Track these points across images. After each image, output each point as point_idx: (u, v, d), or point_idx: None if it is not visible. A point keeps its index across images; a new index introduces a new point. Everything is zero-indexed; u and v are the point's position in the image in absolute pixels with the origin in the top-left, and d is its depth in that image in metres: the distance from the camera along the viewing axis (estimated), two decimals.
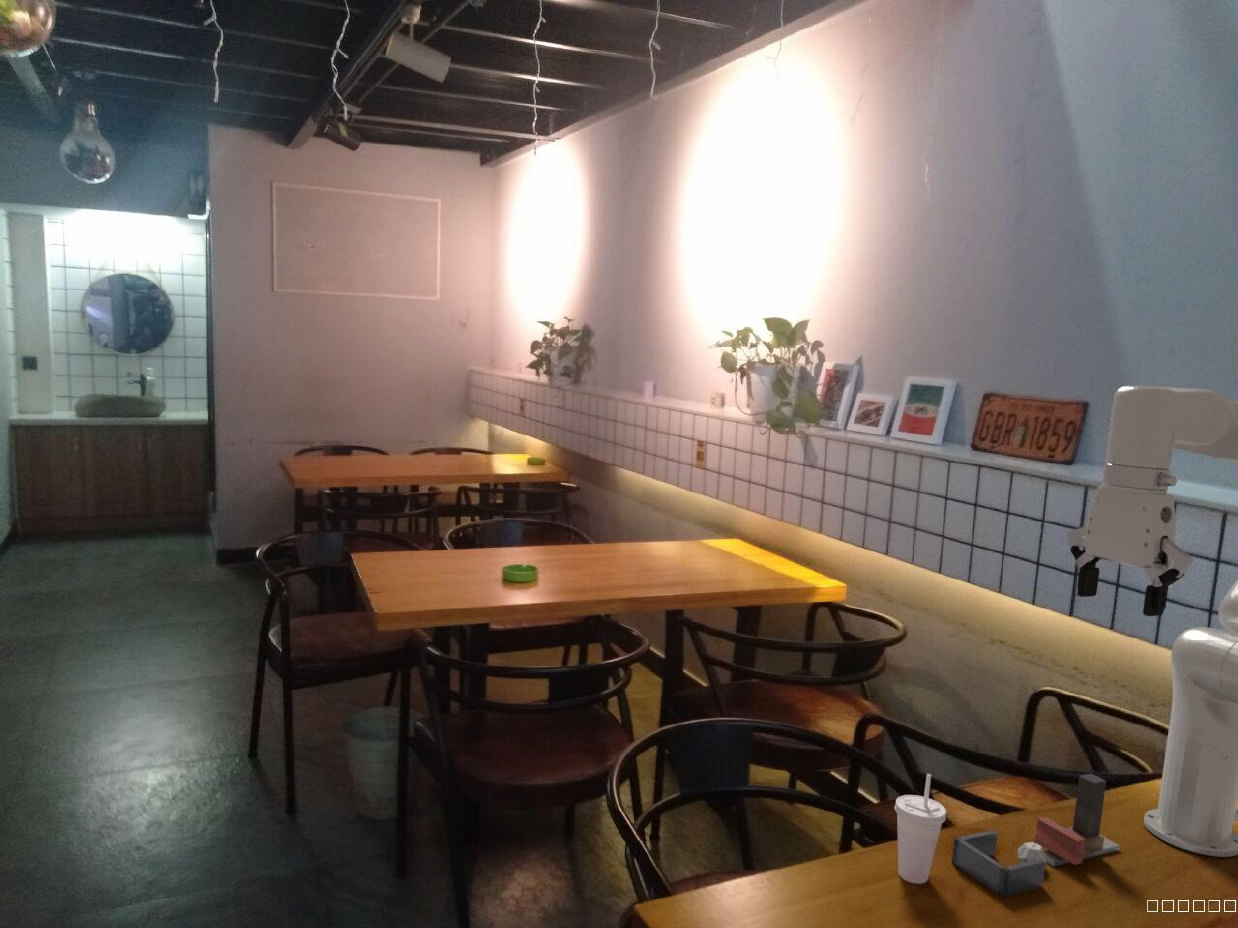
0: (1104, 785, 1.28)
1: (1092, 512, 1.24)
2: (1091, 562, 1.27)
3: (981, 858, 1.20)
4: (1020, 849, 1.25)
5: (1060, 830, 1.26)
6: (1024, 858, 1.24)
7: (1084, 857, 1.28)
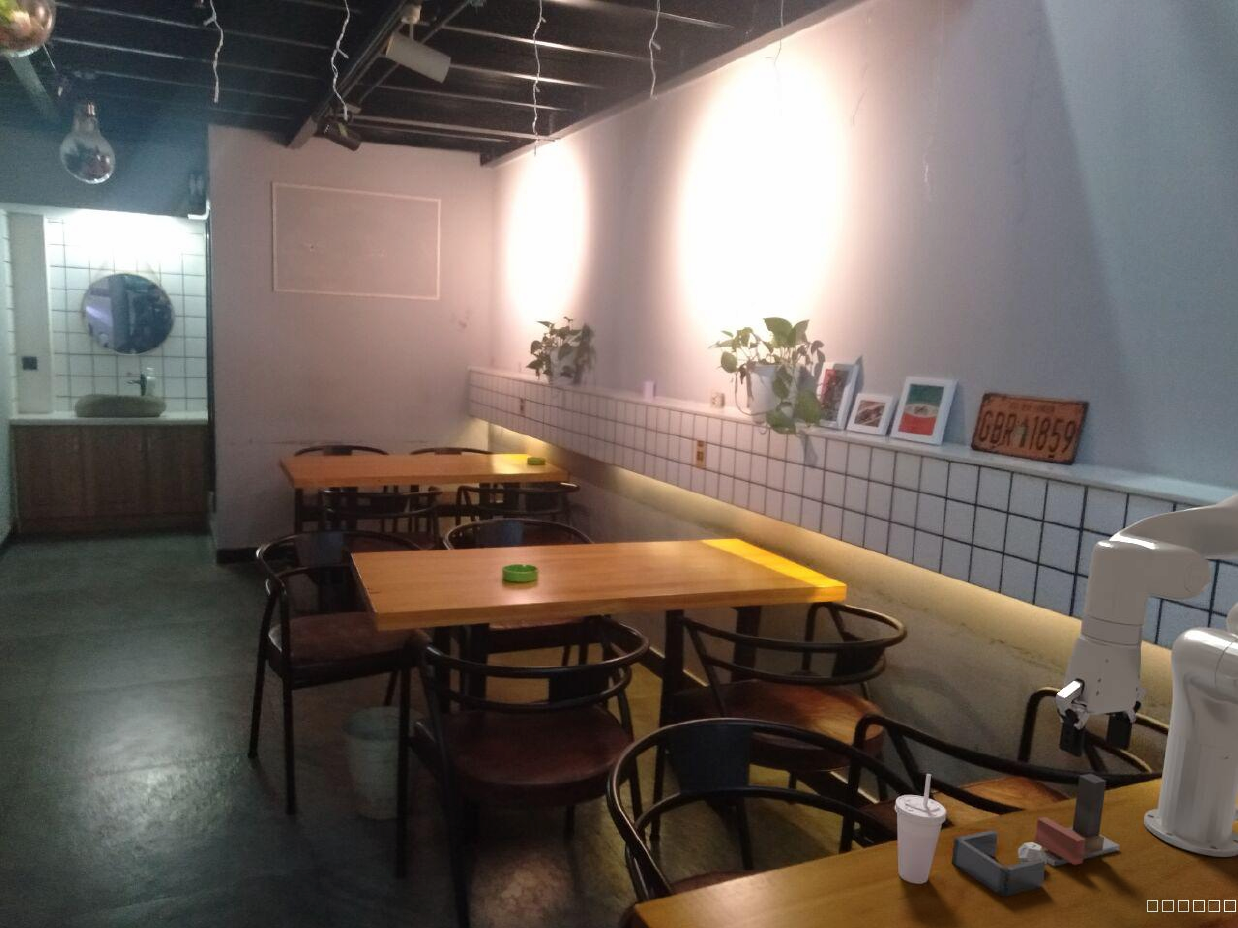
0: (1104, 785, 1.28)
1: (1100, 673, 1.23)
2: None
3: (981, 858, 1.20)
4: (1020, 849, 1.25)
5: (1060, 830, 1.26)
6: (1024, 858, 1.24)
7: (1084, 857, 1.28)
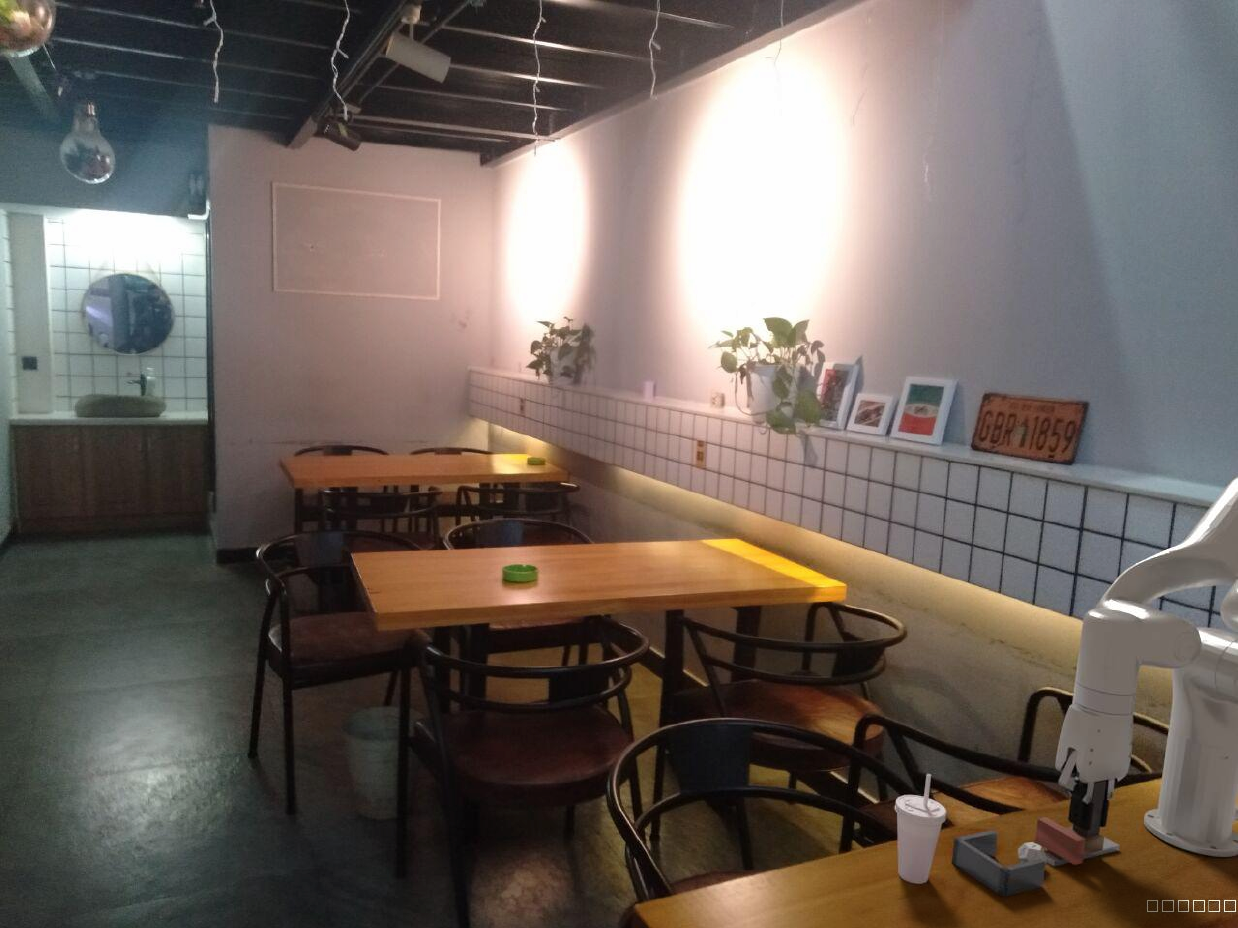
0: (1104, 785, 1.28)
1: (1092, 743, 1.24)
2: None
3: (981, 858, 1.20)
4: (1020, 849, 1.25)
5: (1060, 830, 1.26)
6: (1024, 858, 1.24)
7: (1084, 857, 1.28)
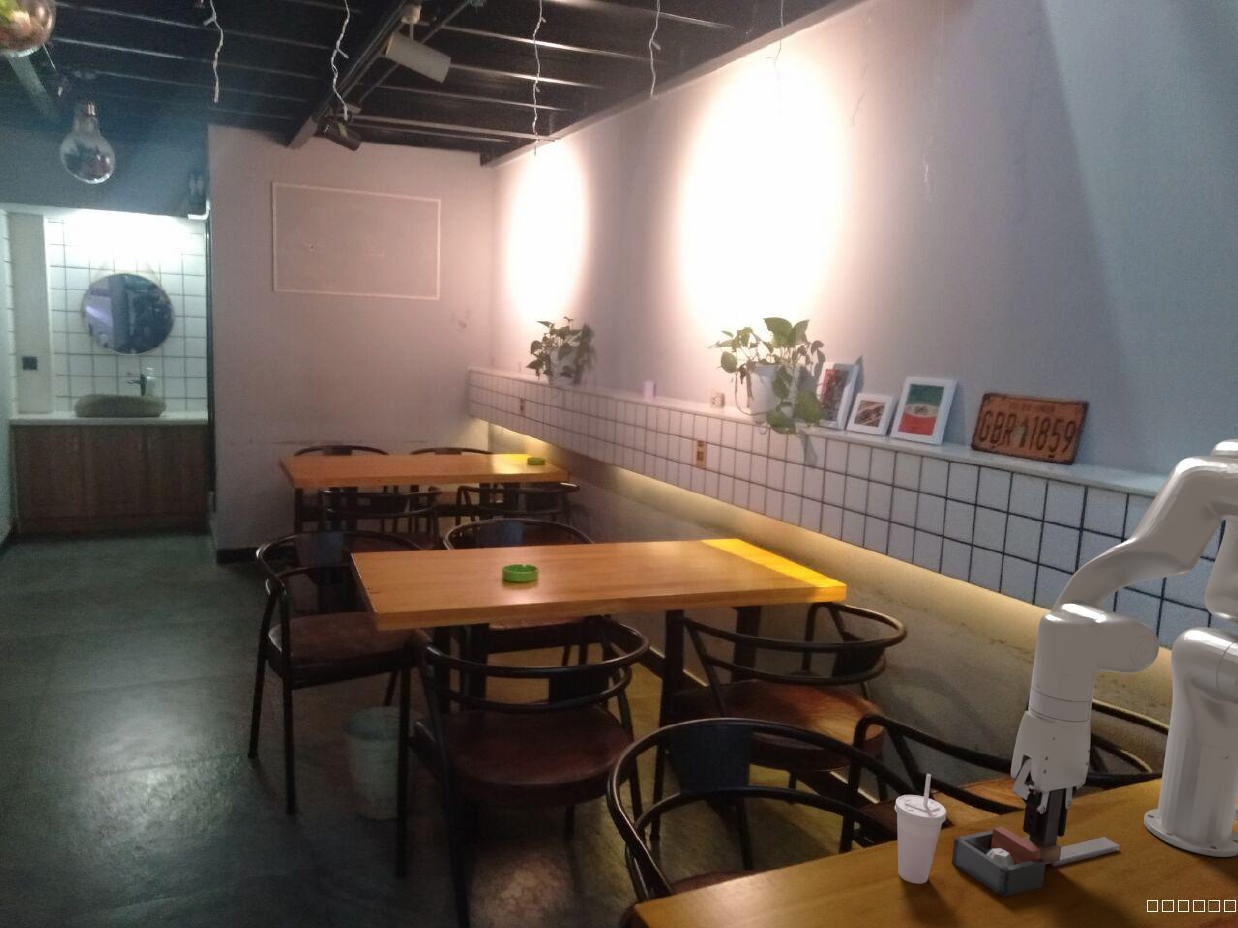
0: (1061, 794, 1.24)
1: (1047, 751, 1.20)
2: None
3: (981, 858, 1.20)
4: (987, 854, 1.23)
5: (1015, 840, 1.23)
6: None
7: (1084, 857, 1.28)
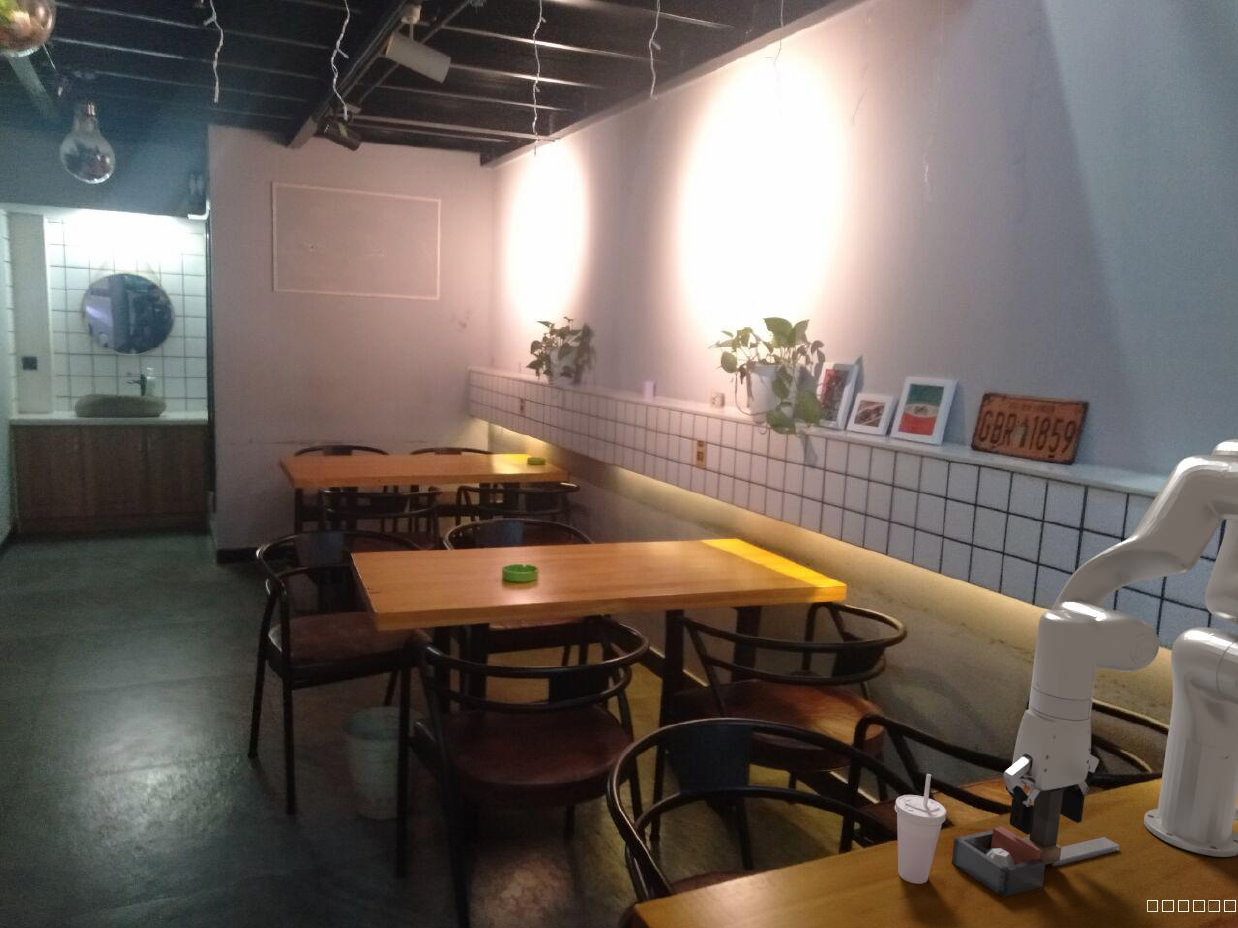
0: (1061, 794, 1.24)
1: (1048, 749, 1.20)
2: None
3: (981, 858, 1.20)
4: (987, 854, 1.23)
5: (1015, 840, 1.23)
6: None
7: (1084, 857, 1.28)
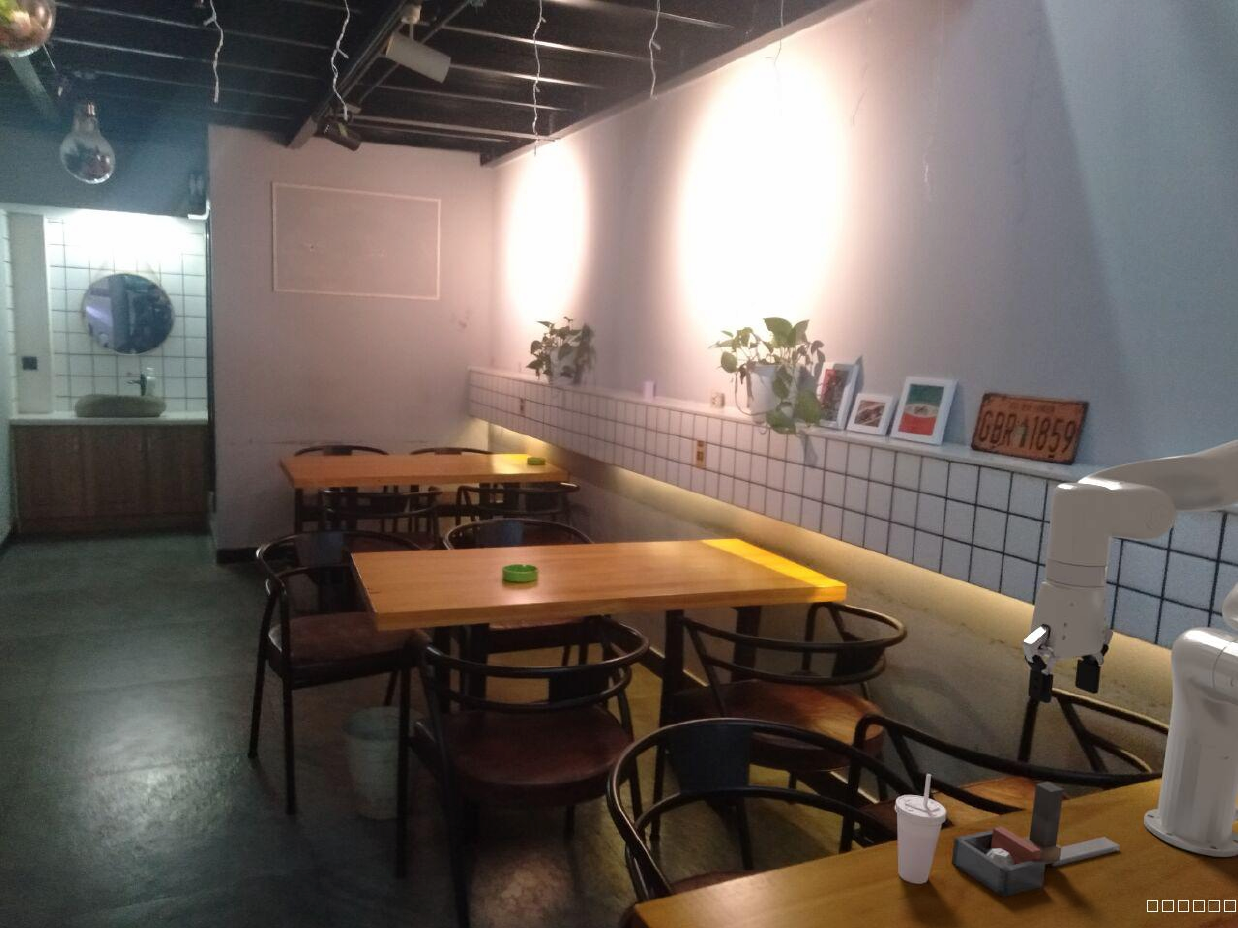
0: (1061, 794, 1.24)
1: (1066, 617, 1.21)
2: None
3: (981, 858, 1.20)
4: (987, 854, 1.23)
5: (1015, 840, 1.23)
6: None
7: (1084, 857, 1.28)
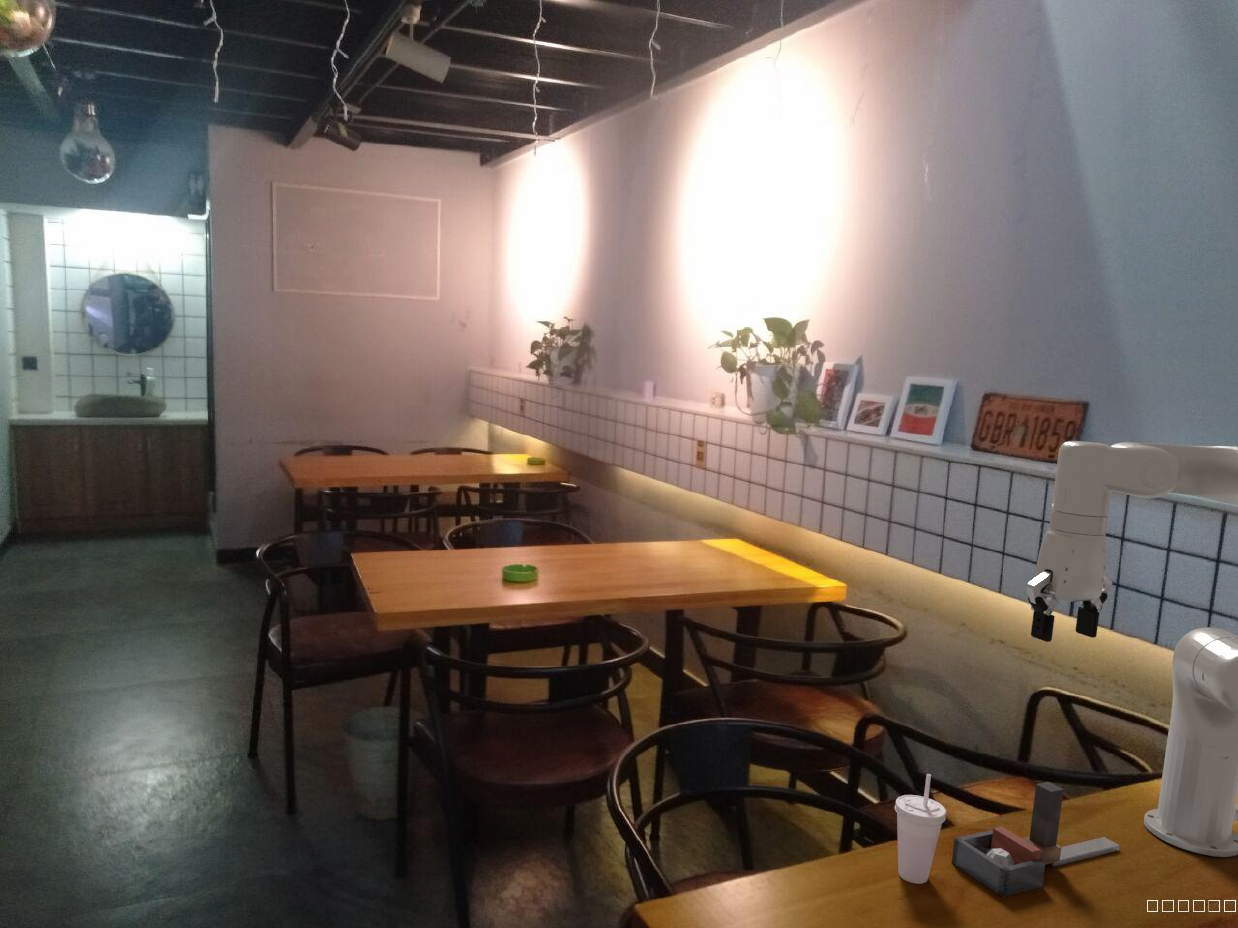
0: (1061, 794, 1.24)
1: (1067, 562, 1.32)
2: None
3: (981, 858, 1.20)
4: (987, 854, 1.23)
5: (1015, 840, 1.23)
6: None
7: (1084, 857, 1.28)
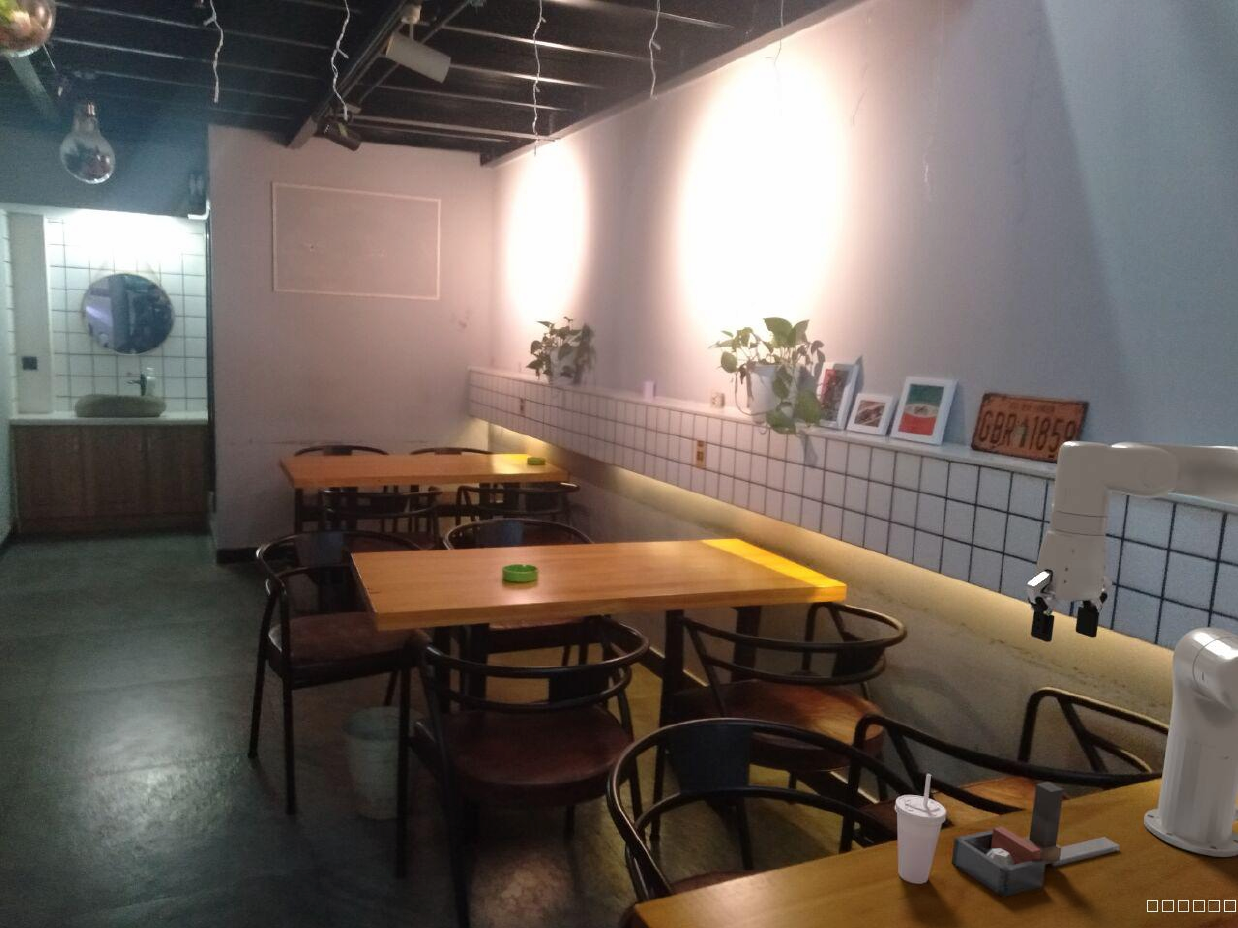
0: (1061, 794, 1.24)
1: (1067, 562, 1.32)
2: None
3: (981, 858, 1.20)
4: (987, 854, 1.23)
5: (1015, 840, 1.23)
6: None
7: (1084, 857, 1.28)
